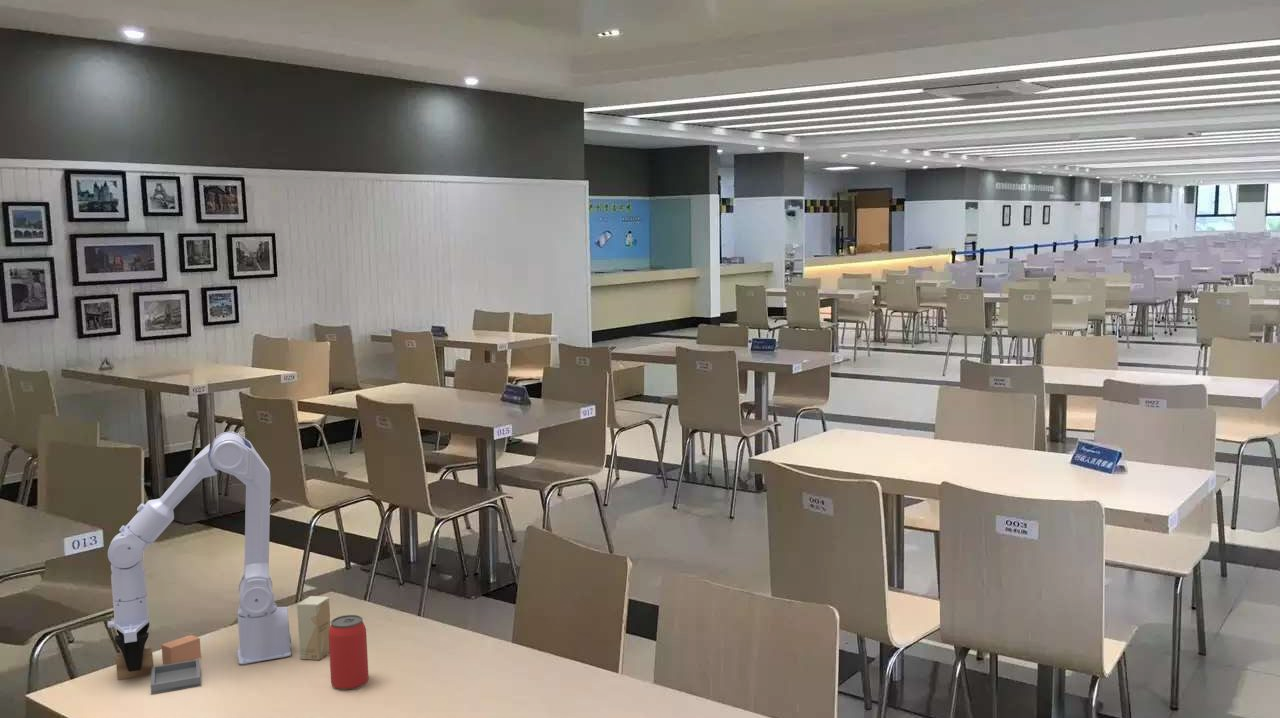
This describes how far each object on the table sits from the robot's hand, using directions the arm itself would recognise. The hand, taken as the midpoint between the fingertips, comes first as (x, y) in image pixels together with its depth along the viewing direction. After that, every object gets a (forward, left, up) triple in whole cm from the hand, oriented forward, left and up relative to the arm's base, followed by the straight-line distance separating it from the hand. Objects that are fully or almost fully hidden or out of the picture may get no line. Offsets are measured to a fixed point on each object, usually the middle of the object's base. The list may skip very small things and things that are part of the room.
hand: (135, 666), depth 195 cm
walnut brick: (0, 0, -1) cm, 1 cm away
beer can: (-36, +23, -2) cm, 43 cm away
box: (-32, +6, -2) cm, 33 cm away
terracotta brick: (-8, -3, -2) cm, 9 cm away
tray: (-7, +7, -1) cm, 10 cm away
